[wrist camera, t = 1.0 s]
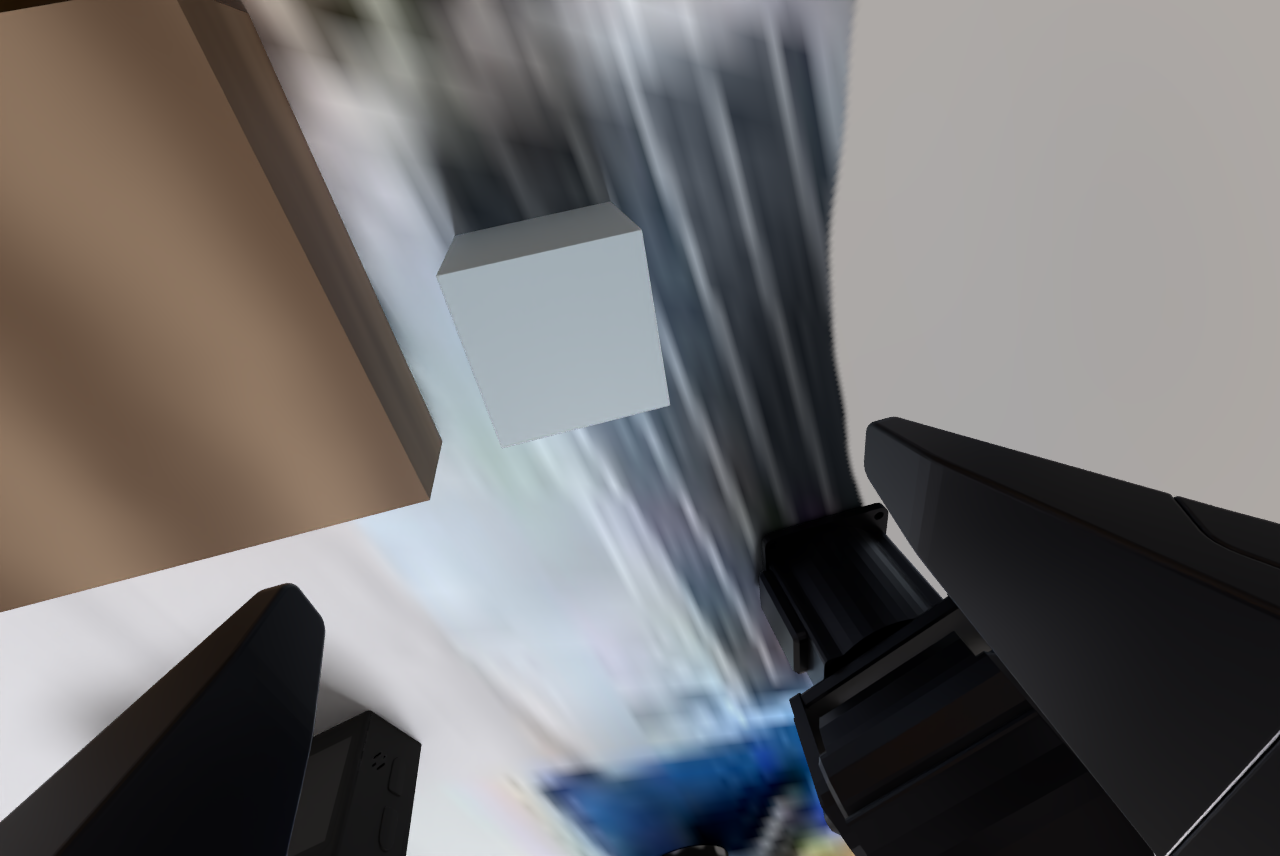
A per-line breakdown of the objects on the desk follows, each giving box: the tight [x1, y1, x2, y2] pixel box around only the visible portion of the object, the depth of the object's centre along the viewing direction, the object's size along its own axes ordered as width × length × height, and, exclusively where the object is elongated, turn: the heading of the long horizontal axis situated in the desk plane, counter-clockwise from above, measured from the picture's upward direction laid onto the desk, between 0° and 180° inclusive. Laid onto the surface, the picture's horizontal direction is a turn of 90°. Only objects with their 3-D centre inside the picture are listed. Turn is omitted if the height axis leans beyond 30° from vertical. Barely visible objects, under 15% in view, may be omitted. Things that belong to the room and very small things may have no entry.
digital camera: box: [287, 711, 421, 856], centre depth 25 cm, size 10×5×7 cm, turn 114°
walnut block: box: [0, 0, 442, 612], centre depth 15 cm, size 13×13×4 cm
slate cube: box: [436, 201, 670, 448], centre depth 16 cm, size 5×5×5 cm
